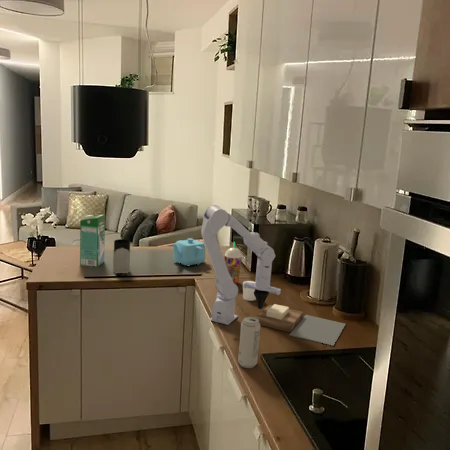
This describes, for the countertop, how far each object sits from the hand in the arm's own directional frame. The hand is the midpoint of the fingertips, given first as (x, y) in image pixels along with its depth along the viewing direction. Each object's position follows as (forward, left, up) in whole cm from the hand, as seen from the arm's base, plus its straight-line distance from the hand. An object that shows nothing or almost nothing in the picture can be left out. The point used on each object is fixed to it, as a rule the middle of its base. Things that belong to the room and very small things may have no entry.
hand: (260, 308), depth 190 cm
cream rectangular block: (0, -7, -1) cm, 7 cm away
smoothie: (+30, +26, -3) cm, 40 cm away
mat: (0, -24, -3) cm, 24 cm away
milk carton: (+15, +96, -3) cm, 97 cm away
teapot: (+44, +58, -3) cm, 73 cm away
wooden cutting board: (0, -8, -3) cm, 9 cm away
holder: (+16, +79, -3) cm, 80 cm away
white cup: (+16, +11, -3) cm, 20 cm away
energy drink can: (-39, -11, -3) cm, 41 cm away
